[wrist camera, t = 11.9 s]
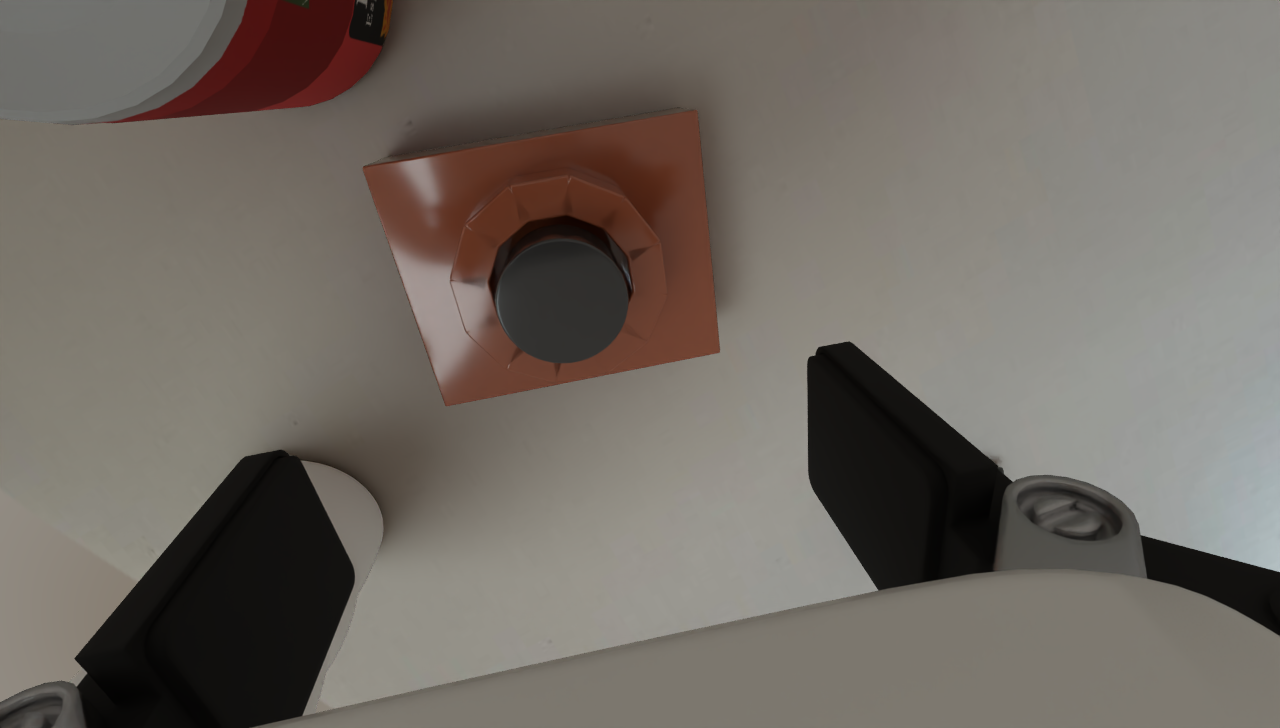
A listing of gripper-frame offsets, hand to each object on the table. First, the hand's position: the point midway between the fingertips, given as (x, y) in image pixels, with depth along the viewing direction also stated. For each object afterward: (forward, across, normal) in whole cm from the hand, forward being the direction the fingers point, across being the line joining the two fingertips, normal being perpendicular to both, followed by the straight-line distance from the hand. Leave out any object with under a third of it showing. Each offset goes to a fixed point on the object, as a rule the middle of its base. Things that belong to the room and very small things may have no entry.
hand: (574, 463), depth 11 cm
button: (+10, 0, 0) cm, 10 cm away
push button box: (+14, 0, 0) cm, 14 cm away
